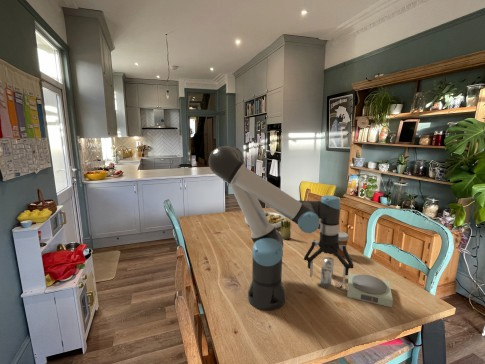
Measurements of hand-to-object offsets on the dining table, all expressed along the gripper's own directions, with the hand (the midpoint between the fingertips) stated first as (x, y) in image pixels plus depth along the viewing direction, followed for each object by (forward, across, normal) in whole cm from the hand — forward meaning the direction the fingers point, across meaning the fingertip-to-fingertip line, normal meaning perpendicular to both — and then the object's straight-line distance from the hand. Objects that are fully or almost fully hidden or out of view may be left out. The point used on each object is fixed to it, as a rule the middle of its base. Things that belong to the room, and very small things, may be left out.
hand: (327, 278), depth 113 cm
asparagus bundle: (+3, +30, -43) cm, 52 cm away
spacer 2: (+3, 0, 0) cm, 3 cm away
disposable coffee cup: (+4, -2, -33) cm, 33 cm away
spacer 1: (+3, 0, -9) cm, 10 cm away
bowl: (+3, +50, -64) cm, 81 cm away
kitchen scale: (+4, -16, -2) cm, 17 cm away
